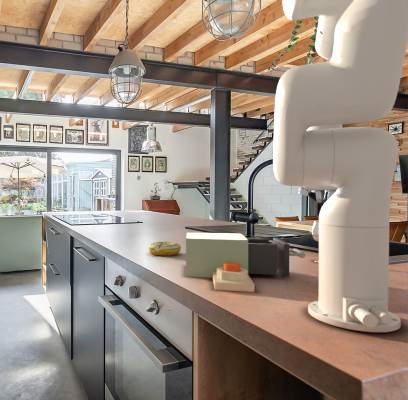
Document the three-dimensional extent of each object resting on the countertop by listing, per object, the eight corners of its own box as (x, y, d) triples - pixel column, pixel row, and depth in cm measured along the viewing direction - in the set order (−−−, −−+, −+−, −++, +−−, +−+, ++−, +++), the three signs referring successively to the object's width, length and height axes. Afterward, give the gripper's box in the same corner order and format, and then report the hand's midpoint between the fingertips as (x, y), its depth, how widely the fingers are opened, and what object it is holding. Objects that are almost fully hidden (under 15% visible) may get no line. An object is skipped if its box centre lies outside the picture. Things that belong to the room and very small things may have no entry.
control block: (254, 292, 74) (254, 275, 74) (214, 289, 76) (214, 273, 76) (247, 280, 84) (247, 265, 84) (212, 278, 86) (212, 264, 86)
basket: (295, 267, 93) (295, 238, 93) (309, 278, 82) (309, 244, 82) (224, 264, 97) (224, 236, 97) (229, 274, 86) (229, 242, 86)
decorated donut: (143, 252, 123) (143, 241, 123) (170, 250, 127) (170, 240, 127) (157, 257, 114) (157, 245, 113) (186, 255, 117) (186, 243, 117)
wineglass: (338, 264, 101) (338, 222, 101) (316, 263, 102) (316, 222, 102) (329, 260, 107) (330, 220, 106) (308, 259, 108) (309, 220, 107)
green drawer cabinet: (241, 268, 97) (241, 233, 97) (248, 279, 85) (248, 239, 84) (186, 266, 100) (186, 232, 100) (186, 276, 88) (185, 238, 88)
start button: (241, 273, 78) (241, 265, 78) (224, 272, 79) (224, 264, 79) (239, 269, 81) (239, 262, 81) (222, 269, 82) (222, 261, 82)
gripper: (294, 143, 84) (293, 220, 85) (365, 140, 80) (364, 220, 81) (286, 146, 91) (285, 217, 92) (351, 144, 88) (350, 217, 88)
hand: (322, 218), depth 86 cm, fingers closed
